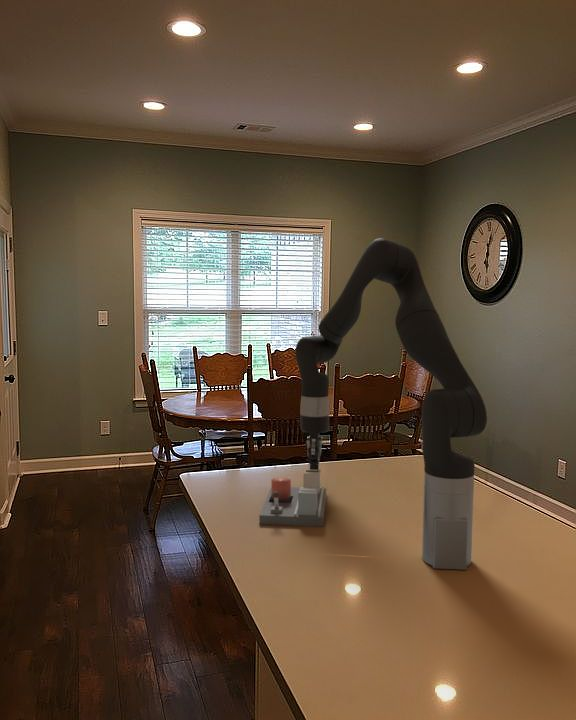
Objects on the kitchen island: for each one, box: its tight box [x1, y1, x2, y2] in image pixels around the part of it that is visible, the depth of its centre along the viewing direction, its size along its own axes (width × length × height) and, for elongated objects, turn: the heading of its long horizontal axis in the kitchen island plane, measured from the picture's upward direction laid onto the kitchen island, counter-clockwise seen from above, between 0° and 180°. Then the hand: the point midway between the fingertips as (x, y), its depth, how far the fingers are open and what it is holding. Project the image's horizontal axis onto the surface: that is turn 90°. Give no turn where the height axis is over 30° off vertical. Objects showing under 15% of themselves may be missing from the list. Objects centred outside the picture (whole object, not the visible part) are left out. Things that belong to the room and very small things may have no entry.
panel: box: [258, 486, 327, 528], centre depth 152 cm, size 22×14×7 cm, turn 174°
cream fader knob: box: [302, 468, 321, 494], centre depth 160 cm, size 4×4×5 cm
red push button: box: [270, 477, 292, 500], centre depth 154 cm, size 5×5×4 cm
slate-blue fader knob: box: [298, 487, 317, 516], centre depth 144 cm, size 4×4×5 cm
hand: (314, 478), depth 169 cm, fingers closed
